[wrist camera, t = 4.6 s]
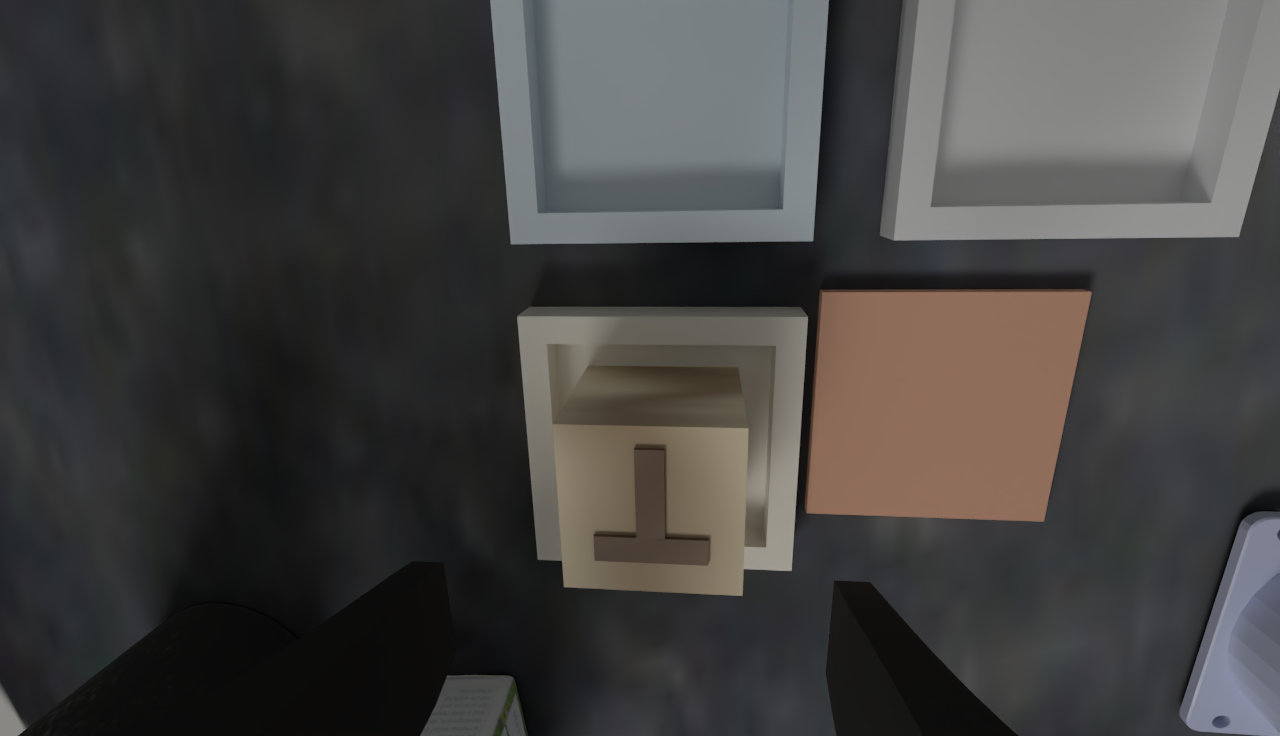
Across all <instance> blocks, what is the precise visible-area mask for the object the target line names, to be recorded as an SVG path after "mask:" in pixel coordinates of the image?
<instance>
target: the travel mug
mask: <svg viewBox="0 0 1280 736" xmlns="http://www.w3.org/2000/svg"><path fill="white" fill-rule="evenodd" d="M297 640H298V639H297V638H296V637H295V636H294V635H293V634H292V633H290V632H289V631H288V630H287V629H286V628H284V627H283V626H281V625H280V624H279V623H277V622H276V621H274V620H272V619H270V618H269V617H267V616H265V615H263V614H260V613H258V612H256V611H254V610H251V609H247V608H244V607H241V606H236V605H232V604H223V603H207V604H200V605H196V606H192V607H189V608H187V609H185V610H183V611H180V612H178V613H176V614H175V615H173V616H172V617H171V618H169V619H168V620H166V621H165V622H164V623H162V624H161V625H159V626H158V627H157V628H155V629H154V630H153V631H152V632H150V633H149V634H148V635H146V636H145V637H144V638H142V639H141V640H140V641H138V642H137V643H136V644H135V645H133V646H132V647H131V648H129V649H128V650H127V651H126V652H124V653H123V654H122V655H120V656H119V657H118V658H117V659H115V660H114V661H113V662H111V663H110V664H109V665H108V666H106V667H105V668H104V669H103V670H101V671H100V672H99V673H97V674H96V675H95V676H94V677H92V678H91V679H90V680H89V681H87V682H86V683H85V684H83V685H82V686H81V687H80V688H78V689H77V690H76V691H75V692H73V693H72V694H71V695H69V696H68V697H67V698H66V699H64V700H63V701H62V702H60V703H59V704H58V705H57V706H55V707H54V708H53V709H52V710H50V711H49V712H48V713H46V714H45V715H44V716H43V717H41V718H40V719H39V720H38V721H36V722H35V723H34V724H32V725H31V726H30V727H29V728H27V729H26V730H25V731H23V732H22V733H21V734H20V735H19V736H129V735H131V734H133V733H135V732H137V731H139V730H141V729H143V728H145V727H147V726H149V725H151V724H153V723H155V722H157V721H159V720H161V719H163V718H165V717H167V716H169V715H171V714H173V713H175V712H177V711H179V710H181V709H183V708H185V707H186V706H188V705H190V704H192V703H194V702H195V701H197V700H199V699H201V698H203V697H204V696H206V695H208V694H210V693H212V692H214V691H215V690H217V689H219V688H221V687H222V686H224V685H226V684H228V683H229V682H231V681H233V680H235V679H236V678H238V677H240V676H241V675H243V674H245V673H246V672H248V671H250V670H251V669H253V668H255V667H256V666H258V665H259V664H261V663H262V662H264V661H266V660H267V659H269V658H270V657H272V656H273V655H275V654H276V653H278V652H279V651H281V650H283V649H284V648H286V647H287V646H289V645H290V644H292V643H293V642H295V641H297Z"/></svg>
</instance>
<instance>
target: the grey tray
mask: <svg viewBox="0 0 1280 736" xmlns="http://www.w3.org/2000/svg"><path fill="white" fill-rule="evenodd" d="M1279 89H1280V0H903V3H902V13H901V23H900V34H899V44H898V54H897V64H896V74H895V84H894V95H893V105H892V115H891V125H890V135H889V146H888V156H887V166H886V176H885V186H884V196H883V207H882V217H881V227H880V236H883V237H886V238H889V239H891V240H978V239H1076V238H1174V237H1239V234H1240V231H1241V227H1242V223H1243V220H1244V216H1245V212H1246V209H1247V205H1248V202H1249V198H1250V194H1251V191H1252V187H1253V183H1254V180H1255V176H1256V173H1257V169H1258V165H1259V162H1260V158H1261V155H1262V151H1263V147H1264V144H1265V140H1266V136H1267V133H1268V129H1269V126H1270V122H1271V118H1272V115H1273V111H1274V107H1275V104H1276V100H1277V97H1278V93H1279Z"/></svg>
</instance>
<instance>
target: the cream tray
mask: <svg viewBox="0 0 1280 736" xmlns="http://www.w3.org/2000/svg"><path fill="white" fill-rule="evenodd" d="M517 322H518V333H519V345H520V357H521V369H522V381H523V392H524V404H525V416H526V428H527V440H528V451H529V463H530V475H531V487H532V498H533V510H534V522H535V534H536V546H537V557H538V560H555V561H562V552H561V538H560V524H559V510H558V496H557V482H556V467H555V453H554V439H553V425H552V424H553V422H554V421H555V419H556V418H557V416H558V414H559V413H560V411H561V409H562V408H563V406H564V404H565V403H566V401H567V399H568V398H569V396H570V394H571V393H572V391H573V389H574V388H575V386H576V384H577V383H578V381H579V379H580V378H581V376H582V374H583V373H584V371H585V370H586V368H587V366H666V367H738V369H739V375H740V381H741V387H742V392H743V398H744V404H745V410H746V416H747V421H748V427H749V434H748V461H747V488H746V515H745V542H744V569H757V570H780V571H792V556H793V541H794V526H795V510H796V495H797V480H798V464H799V449H800V434H801V419H802V403H803V388H804V373H805V357H806V342H807V327H808V316H807V315H806V313H805V312H804V311H803V309H802V308H801V307H529V308H527V309H526V310H525V311H523V312H522V313H521V314H520V315H518V316H517Z"/></svg>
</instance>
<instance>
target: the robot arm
mask: <svg viewBox="0 0 1280 736" xmlns="http://www.w3.org/2000/svg"><path fill="white" fill-rule="evenodd" d="M1279 530H1280V512H1268V511H1262V512H1255V513H1253V514H1250V515H1248V516H1247V517H1245V518H1244V519H1243V520H1242V522H1241V524H1240V525H1239V528H1238V532H1237V535H1236V538H1235V541H1234V544H1233V547H1232V550H1231V553H1230V556H1229V559H1228V563H1227V566H1226V569H1225V572H1224V575H1223V578H1222V581H1221V584H1220V587H1219V590H1218V594H1217V597H1216V600H1215V603H1214V606H1213V609H1212V612H1211V615H1210V618H1209V621H1208V624H1207V628H1206V631H1205V634H1204V637H1203V640H1202V643H1201V646H1200V649H1199V652H1198V655H1197V659H1196V662H1195V665H1194V668H1193V671H1192V674H1191V677H1190V680H1189V683H1188V686H1187V690H1186V693H1185V696H1184V699H1183V702H1182V705H1181V708H1180V717H1181V719H1182V720H1183V721H1184V722H1185V723H1186V725H1187V726H1188V727H1189V728H1191V729H1192V730H1196V731H1201V732H1216V733H1231V734H1246V735H1261V736H1280V532H1279ZM1278 532H1279V533H1278ZM455 652H456V648H455V641H454V634H453V627H452V619H451V612H450V605H449V598H448V591H447V584H446V577H445V570H444V563H436V562H414V561H413V562H411V563H410V564H408V565H406V566H405V567H403V568H402V569H400V570H399V571H397V572H396V573H394V574H393V575H391V576H390V577H388V578H387V579H385V580H384V581H382V582H381V583H380V584H378V585H377V586H375V587H374V588H373V589H371V590H370V591H368V592H367V593H365V594H364V595H363V596H361V597H360V598H358V599H357V600H355V601H354V602H353V603H351V604H350V605H348V606H347V607H345V608H344V609H342V610H341V611H340V612H338V613H337V614H335V615H334V616H332V617H331V618H330V619H328V620H327V621H325V622H324V623H322V624H321V625H319V626H318V627H317V628H315V629H314V630H312V631H311V632H309V633H307V634H306V635H304V636H303V637H301V638H300V639H298V640H297V641H295V642H293V643H292V644H290V645H289V646H287V647H286V648H284V649H283V650H281V651H279V652H278V653H276V654H275V655H273V656H272V657H270V658H269V659H267V660H266V661H264V662H262V663H261V664H259V665H258V666H256V667H255V668H253V669H251V670H250V671H248V672H246V673H245V674H243V675H241V676H240V677H238V678H236V679H235V680H233V681H231V682H229V683H228V684H226V685H224V686H222V687H221V688H219V689H217V690H215V691H214V692H212V693H210V694H208V695H206V696H204V697H203V698H201V699H199V700H197V701H195V702H194V703H192V704H190V705H188V706H186V707H185V708H183V709H181V710H179V711H177V712H175V713H173V714H171V715H169V716H167V717H165V718H163V719H161V720H159V721H157V722H155V723H153V724H151V725H149V726H147V727H145V728H143V729H141V730H139V731H137V732H135V733H133V734H131V735H129V736H420V735H421V733H422V732H423V730H424V728H425V726H426V724H427V722H428V720H429V718H430V716H431V714H432V712H433V710H434V708H435V706H436V703H437V701H438V698H439V696H440V693H441V690H442V688H443V685H444V683H445V680H446V677H447V674H448V672H449V669H450V666H451V663H452V660H453V658H454V655H455ZM826 677H827V683H828V690H829V696H830V702H831V708H832V713H833V719H834V725H835V730H836V735H837V736H1018V735H1017V734H1016V733H1015V732H1013V731H1012V730H1011V729H1010V728H1009V727H1008V726H1007V725H1006V724H1005V723H1003V722H1002V721H1001V720H1000V719H999V718H998V717H997V716H996V715H995V714H994V713H993V712H992V711H991V710H990V709H989V708H988V707H987V706H985V705H984V704H983V703H982V702H981V701H980V700H979V699H978V698H977V697H976V696H975V695H974V694H973V693H972V692H971V691H970V690H969V689H968V688H967V687H966V686H965V685H964V684H963V683H962V682H961V681H960V680H959V679H958V678H957V677H956V676H955V675H954V674H953V673H952V672H951V671H950V670H949V669H948V668H947V667H946V666H945V664H944V663H943V662H942V661H941V660H940V659H939V658H938V657H937V656H936V655H935V654H934V653H933V652H932V651H931V650H930V649H929V648H928V647H927V645H926V644H925V643H924V642H923V641H922V640H921V639H920V638H919V637H918V636H917V634H916V633H915V632H914V631H913V630H912V629H911V628H910V627H909V626H908V624H907V623H906V622H905V621H904V620H903V619H902V618H901V617H900V615H899V614H898V613H897V612H896V611H895V610H894V609H893V607H892V606H891V605H890V604H889V603H888V602H887V601H886V600H885V598H884V597H883V596H882V595H881V594H880V593H879V592H878V591H877V589H876V588H875V587H874V586H873V585H872V584H871V583H870V582H850V581H834V590H833V601H832V612H831V623H830V634H829V645H828V655H827V666H826Z"/></svg>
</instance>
